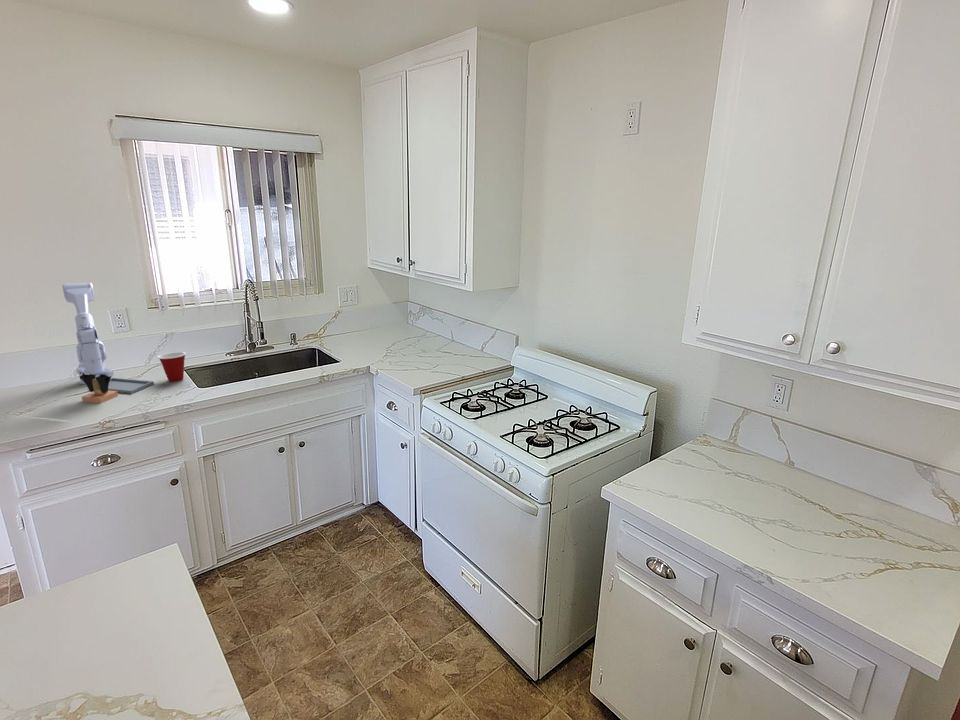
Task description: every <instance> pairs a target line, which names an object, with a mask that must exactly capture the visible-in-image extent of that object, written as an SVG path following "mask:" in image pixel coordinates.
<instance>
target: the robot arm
mask: <svg viewBox="0 0 960 720" xmlns="http://www.w3.org/2000/svg"><path fill="white" fill-rule="evenodd" d="M61 285H62V291H63V295H64V299H65V301H66V302H67V303H70V304H73V305H74V306H75V309H76V315H75V317H74V321H75V325H76V326H75V327H76V333H75V334H76V339H77V344H76V353H77V354H76V355H77V359H78V362H79V364H78V366H77V368H76V373H77V375H78V376H79V380H80V381H79V382H78V384H82V385H86V387H87V389H88V391H89V392H90V393H92V392H94V387H93V383H92V380H93V379H96V380H97V381H98V383H99V385H100V388H101V391H102V393H106V392H108V386H109V381H110V379H111V378H113V377H114V370H111V369H107V368H106V366H105V361H106V360H107V359H108V358H107V357H108V356H107V352H106V347H105V345H104V343H103V341H101V340H100V338H99V333H98V330H97V328H96V326H95V322H94V316H93V314H91V313H90V309H89V304H90V302H92V301H94V300H95V291H94V287H93V283H92V282H90V281H89V282H79V283H78V282H77V283H76V282H75V283H63V284H61Z"/></svg>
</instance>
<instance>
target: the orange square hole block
mask: <svg viewBox="0 0 960 720" xmlns="http://www.w3.org/2000/svg"><path fill="white" fill-rule="evenodd" d="M116 397H119V393H117V391H109V390H108V392H106V393H104V395H102V396H95V392H94V391H93V392H90V393H87V394H85V395H83V396H81V400H82V402H84V403H95V404H103V403H105V402H107V401H109V400H112V399H113V398H116Z"/></svg>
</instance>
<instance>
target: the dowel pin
mask: <svg viewBox="0 0 960 720" xmlns="http://www.w3.org/2000/svg"><path fill="white" fill-rule="evenodd" d="M92 383H93V387H94V391H93V392H95V396H102V395H104V393H102V391H101V388H100V385H99V383H98V381H97V380H96V379H93V380H92Z"/></svg>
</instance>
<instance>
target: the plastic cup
mask: <svg viewBox="0 0 960 720" xmlns="http://www.w3.org/2000/svg"><path fill="white" fill-rule="evenodd" d="M185 356H186V352H184V351H178V352H177V351H175V352H168V353H163V354H160V355H158V356H157V358H158V359H159V361H160V363H161V365H162V368H163V371H164V373H165V376H166V377H167V381H168V382H170V383H177V382H180V381H183V380H184V373H185V359H186V357H185Z"/></svg>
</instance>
